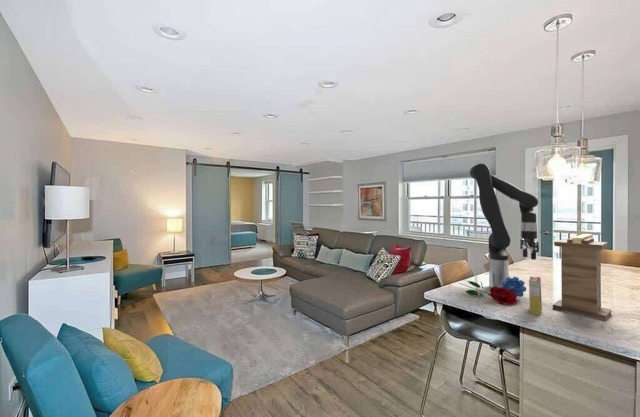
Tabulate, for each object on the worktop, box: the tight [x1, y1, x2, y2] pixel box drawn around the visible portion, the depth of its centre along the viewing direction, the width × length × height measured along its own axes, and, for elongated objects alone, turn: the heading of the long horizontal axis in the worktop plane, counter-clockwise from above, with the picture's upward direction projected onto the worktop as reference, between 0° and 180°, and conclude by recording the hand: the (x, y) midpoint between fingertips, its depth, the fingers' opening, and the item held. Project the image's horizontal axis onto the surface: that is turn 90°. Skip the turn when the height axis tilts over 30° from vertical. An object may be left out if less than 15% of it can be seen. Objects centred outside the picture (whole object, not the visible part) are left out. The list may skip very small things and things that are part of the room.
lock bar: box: [572, 233, 594, 244], centre depth 134 cm, size 24×3×2 cm, turn 128°
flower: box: [458, 280, 518, 306], centre depth 152 cm, size 9×9×30 cm
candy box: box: [528, 276, 543, 316], centre depth 132 cm, size 9×4×15 cm, turn 140°
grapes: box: [501, 276, 527, 299], centre depth 150 cm, size 12×7×12 cm, turn 38°
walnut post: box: [552, 237, 612, 321], centre depth 131 cm, size 14×18×34 cm
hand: (529, 258), depth 164 cm, fingers open, 8 cm apart
